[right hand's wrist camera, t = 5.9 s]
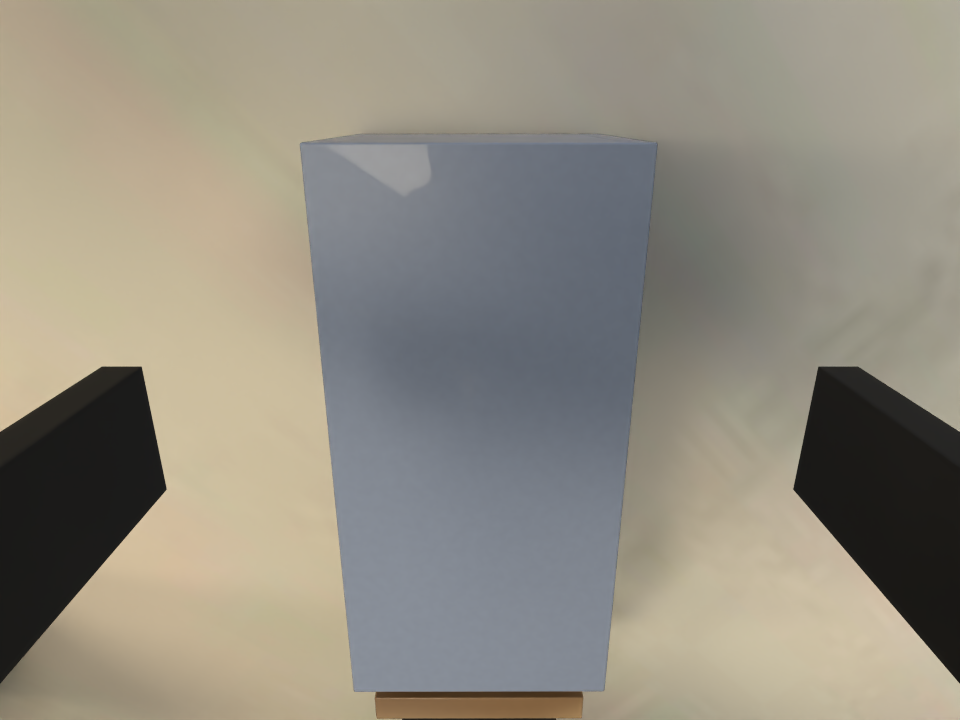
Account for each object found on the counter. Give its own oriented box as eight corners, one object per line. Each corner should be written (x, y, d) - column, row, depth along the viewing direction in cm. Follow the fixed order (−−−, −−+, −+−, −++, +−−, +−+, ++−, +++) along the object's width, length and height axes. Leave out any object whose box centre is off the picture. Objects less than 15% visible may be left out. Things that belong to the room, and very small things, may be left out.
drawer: (556, 673, 35) (575, 803, 28) (401, 673, 35) (383, 804, 28) (583, 229, 26) (618, 268, 19) (374, 229, 26) (339, 268, 19)
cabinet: (572, 546, 33) (604, 692, 25) (385, 546, 33) (353, 692, 25) (599, 133, 26) (658, 142, 17) (357, 133, 26) (299, 142, 17)
